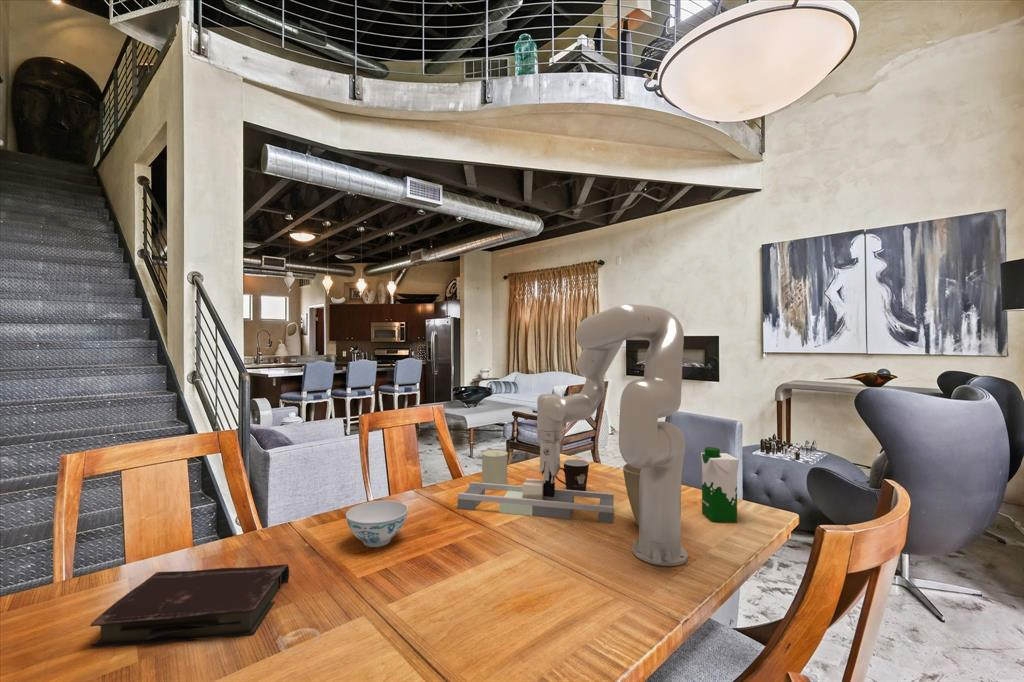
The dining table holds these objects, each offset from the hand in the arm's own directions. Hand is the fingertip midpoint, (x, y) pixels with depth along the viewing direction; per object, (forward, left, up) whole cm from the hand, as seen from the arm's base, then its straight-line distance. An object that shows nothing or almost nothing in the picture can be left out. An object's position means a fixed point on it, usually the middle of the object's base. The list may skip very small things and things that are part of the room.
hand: (549, 495), depth 136 cm
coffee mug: (+18, -5, -4) cm, 19 cm away
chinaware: (-32, +39, -4) cm, 51 cm away
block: (0, +5, -1) cm, 5 cm away
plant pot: (-5, -29, -4) cm, 30 cm away
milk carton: (+6, -49, -4) cm, 50 cm away
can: (+18, +22, -4) cm, 29 cm away
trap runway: (0, +4, -4) cm, 6 cm away
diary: (-67, +55, -5) cm, 87 cm away
